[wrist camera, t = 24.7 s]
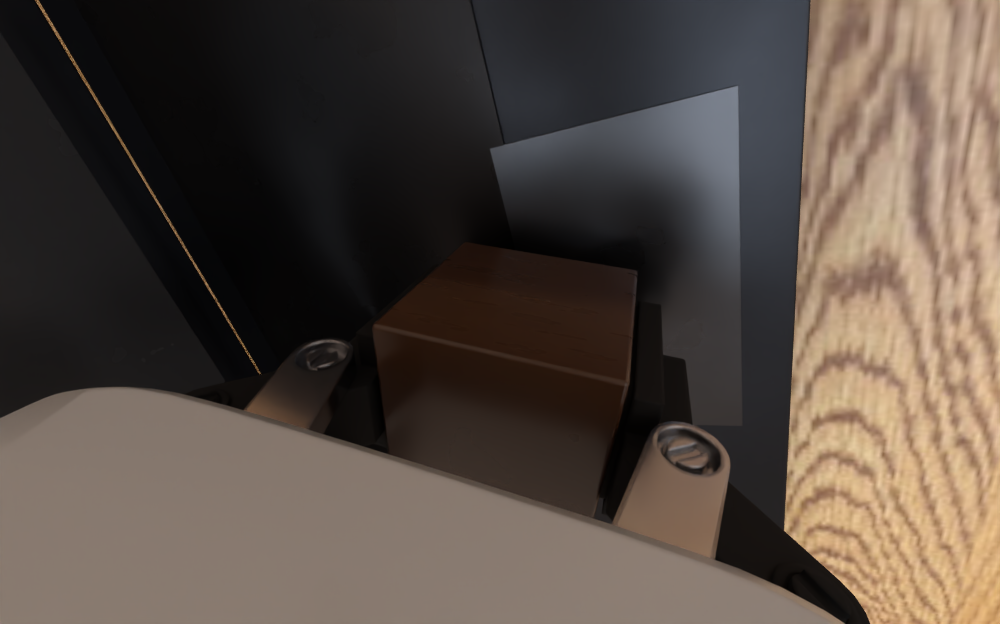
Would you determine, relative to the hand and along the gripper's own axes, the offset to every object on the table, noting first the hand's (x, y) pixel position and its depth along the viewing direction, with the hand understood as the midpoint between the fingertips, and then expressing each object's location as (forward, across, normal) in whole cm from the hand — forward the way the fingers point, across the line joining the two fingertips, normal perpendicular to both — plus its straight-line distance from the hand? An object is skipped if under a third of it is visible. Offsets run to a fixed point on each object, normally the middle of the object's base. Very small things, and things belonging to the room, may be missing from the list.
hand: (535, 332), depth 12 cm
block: (0, 0, 0) cm, 0 cm away
